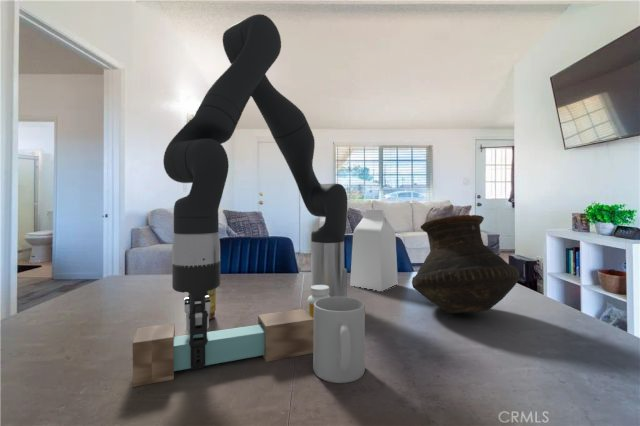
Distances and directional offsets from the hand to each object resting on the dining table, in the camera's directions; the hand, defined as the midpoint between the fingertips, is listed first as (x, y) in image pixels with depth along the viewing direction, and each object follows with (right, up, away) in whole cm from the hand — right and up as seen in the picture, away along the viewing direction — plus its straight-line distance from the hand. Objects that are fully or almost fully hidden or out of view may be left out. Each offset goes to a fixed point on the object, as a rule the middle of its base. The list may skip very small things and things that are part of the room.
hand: (197, 360), depth 54 cm
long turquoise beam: (+3, 0, +1) cm, 3 cm away
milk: (+39, 0, +56) cm, 68 cm away
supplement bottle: (+21, -1, +15) cm, 26 cm away
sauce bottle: (-8, -1, +23) cm, 24 cm away
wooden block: (+14, -1, +6) cm, 15 cm away
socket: (-6, -1, -2) cm, 6 cm away
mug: (+24, -1, -3) cm, 24 cm away
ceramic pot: (+56, -1, +26) cm, 62 cm away
